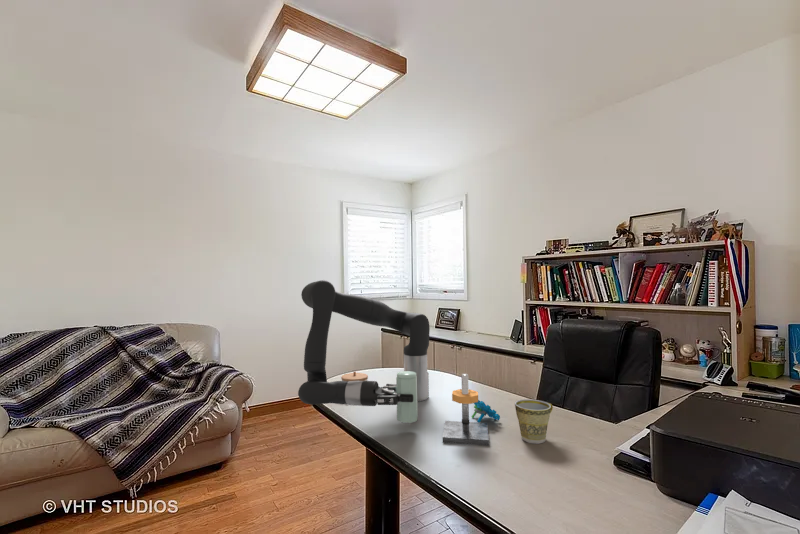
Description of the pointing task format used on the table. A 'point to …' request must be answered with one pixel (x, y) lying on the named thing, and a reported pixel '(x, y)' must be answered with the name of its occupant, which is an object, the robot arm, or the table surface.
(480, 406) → the blue toy dinosaur
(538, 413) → the ceramic cup
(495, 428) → the table surface
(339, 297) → the robot arm
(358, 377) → the lidded jar
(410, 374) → the pale green canister
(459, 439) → the post stand
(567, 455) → the table surface
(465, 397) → the collar
